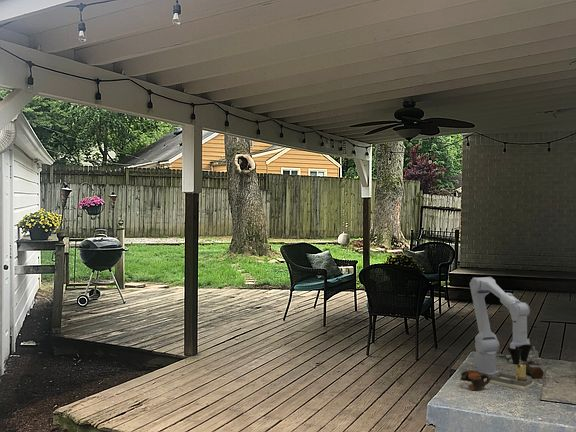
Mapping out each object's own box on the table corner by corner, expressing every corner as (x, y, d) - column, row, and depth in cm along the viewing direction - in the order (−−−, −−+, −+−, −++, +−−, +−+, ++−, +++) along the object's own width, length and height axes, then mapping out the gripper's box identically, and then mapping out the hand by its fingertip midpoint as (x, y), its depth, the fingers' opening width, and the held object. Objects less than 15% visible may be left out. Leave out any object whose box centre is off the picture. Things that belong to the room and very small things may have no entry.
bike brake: (538, 357, 275) (496, 361, 281) (535, 344, 275) (494, 348, 281) (542, 364, 262) (499, 368, 268) (539, 350, 262) (496, 354, 268)
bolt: (521, 374, 255) (539, 382, 240) (512, 369, 254) (530, 376, 239) (527, 363, 255) (545, 370, 240) (518, 358, 255) (536, 365, 240)
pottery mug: (462, 391, 223) (457, 371, 227) (465, 396, 231) (460, 376, 235) (492, 386, 220) (486, 366, 224) (494, 391, 227) (488, 371, 232)
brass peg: (514, 383, 229) (514, 364, 230) (518, 381, 232) (517, 362, 232) (523, 385, 227) (523, 366, 227) (527, 383, 229) (527, 364, 230)
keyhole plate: (488, 382, 234) (488, 376, 234) (500, 377, 242) (500, 371, 242) (522, 389, 223) (522, 383, 223) (533, 384, 231) (533, 378, 231)
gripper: (521, 334, 223) (521, 367, 223) (536, 330, 233) (536, 361, 233) (505, 332, 229) (505, 364, 228) (520, 327, 238) (520, 358, 238)
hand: (520, 362), depth 231 cm, fingers open, 7 cm apart
